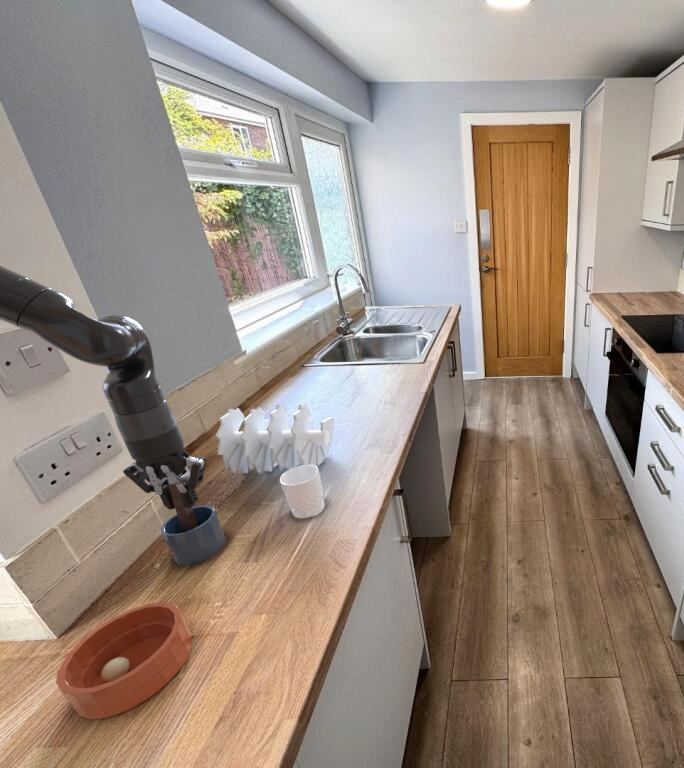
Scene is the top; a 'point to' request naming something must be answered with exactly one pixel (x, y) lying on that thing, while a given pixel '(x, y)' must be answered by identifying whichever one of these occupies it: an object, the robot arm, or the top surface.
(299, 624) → the top surface
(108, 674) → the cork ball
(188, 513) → the stick
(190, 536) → the utensil pot
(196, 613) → the top surface
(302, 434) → the spiral staircase
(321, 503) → the white cup
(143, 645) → the bowl
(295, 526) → the top surface
